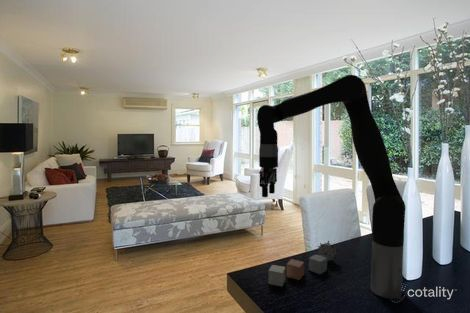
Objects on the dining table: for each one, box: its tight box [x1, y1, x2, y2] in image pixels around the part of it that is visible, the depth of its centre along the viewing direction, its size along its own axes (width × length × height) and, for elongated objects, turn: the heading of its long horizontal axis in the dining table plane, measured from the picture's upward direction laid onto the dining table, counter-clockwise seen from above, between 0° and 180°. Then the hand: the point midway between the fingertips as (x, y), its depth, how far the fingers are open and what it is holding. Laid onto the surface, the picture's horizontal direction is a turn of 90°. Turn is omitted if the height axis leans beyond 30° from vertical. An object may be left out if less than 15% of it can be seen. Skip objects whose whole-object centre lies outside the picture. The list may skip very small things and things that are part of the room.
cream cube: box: [268, 264, 287, 287], centre depth 105 cm, size 5×5×5 cm
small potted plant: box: [315, 240, 339, 263], centre depth 123 cm, size 9×8×10 cm
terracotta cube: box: [286, 258, 305, 281], centre depth 110 cm, size 5×5×5 cm
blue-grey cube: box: [308, 253, 328, 275], centre depth 115 cm, size 5×5×5 cm
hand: (268, 195), depth 119 cm, fingers open, 8 cm apart
